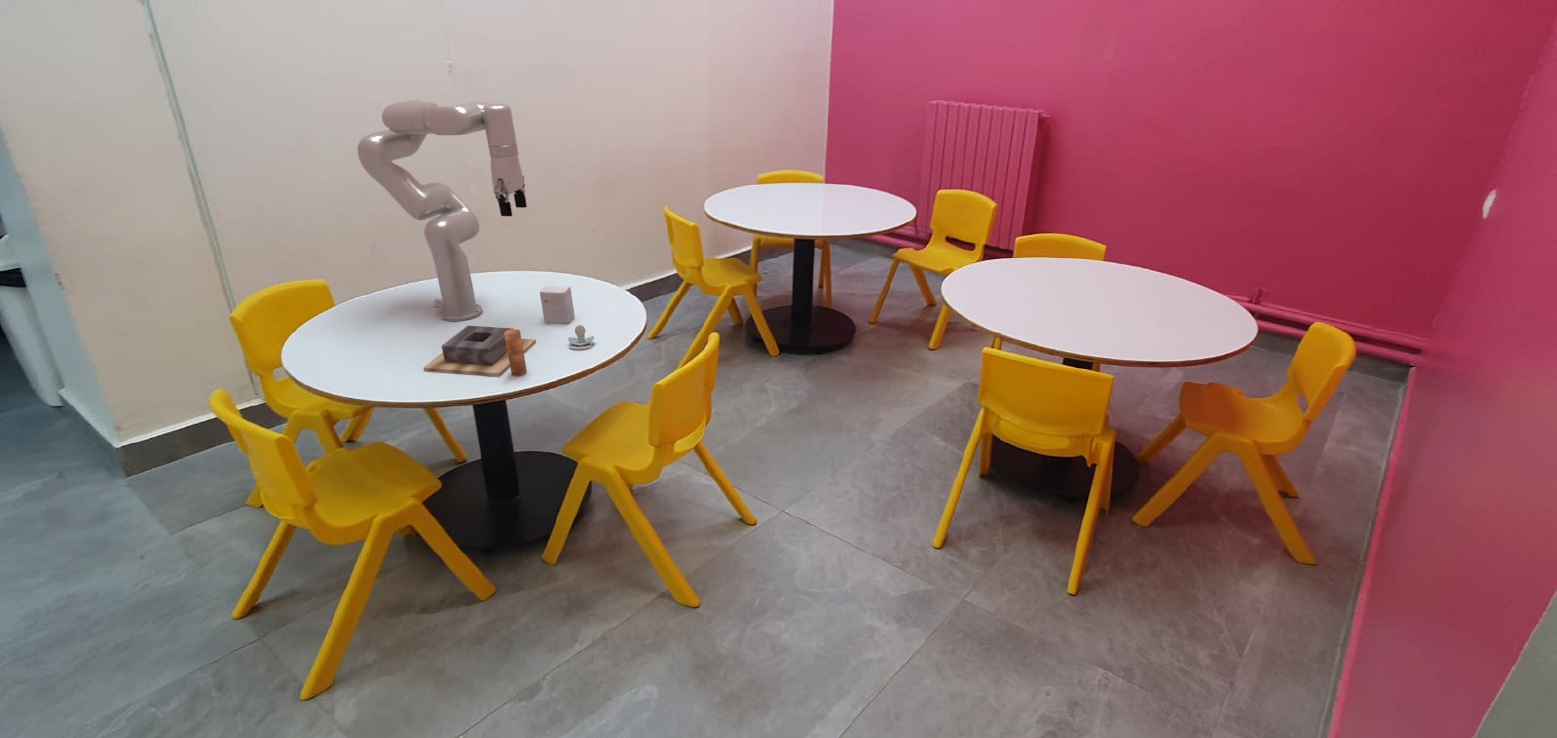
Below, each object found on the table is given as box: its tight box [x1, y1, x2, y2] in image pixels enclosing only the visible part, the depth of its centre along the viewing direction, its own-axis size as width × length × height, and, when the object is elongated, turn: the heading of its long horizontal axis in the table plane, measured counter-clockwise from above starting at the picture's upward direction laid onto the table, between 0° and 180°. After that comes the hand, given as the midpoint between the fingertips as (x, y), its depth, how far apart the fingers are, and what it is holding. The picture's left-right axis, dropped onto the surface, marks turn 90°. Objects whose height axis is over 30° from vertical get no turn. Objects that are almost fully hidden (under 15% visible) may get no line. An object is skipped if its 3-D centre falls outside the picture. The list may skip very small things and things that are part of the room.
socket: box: [423, 325, 537, 378], centre depth 208 cm, size 22×22×6 cm
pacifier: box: [567, 324, 595, 351], centre depth 214 cm, size 7×6×6 cm
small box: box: [539, 285, 576, 325], centre depth 230 cm, size 8×6×10 cm
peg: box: [504, 328, 528, 377], centre depth 198 cm, size 4×4×12 cm
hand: (514, 211), depth 214 cm, fingers open, 9 cm apart
